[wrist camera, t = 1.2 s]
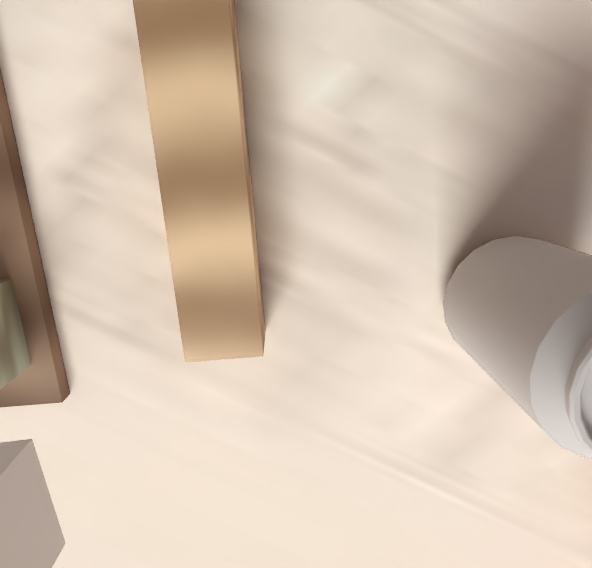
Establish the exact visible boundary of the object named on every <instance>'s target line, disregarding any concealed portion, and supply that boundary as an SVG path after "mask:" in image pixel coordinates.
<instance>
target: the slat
mask: <svg viewBox="0 0 592 568" xmlns="http://www.w3.org/2000/svg"><path fill="white" fill-rule="evenodd" d="M133 5H134V12H135V19H136V26H137V33H138V40H139V47H140V53H141V60H142V67H143V74H144V81H145V88H146V95H147V102H148V109H149V116H150V123H151V130H152V137H153V144H154V151H155V158H156V165H157V171H158V178H159V185H160V192H161V199H162V206H163V213H164V220H165V227H166V234H167V241H168V248H169V255H170V262H171V269H172V276H173V282H174V289H175V296H176V303H177V310H178V317H179V324H180V331H181V338H182V345H183V352H184V359H185V362H197V361H209V360H222V359H234V358H247V357H259V356H263V353H264V341H265V321H264V311H263V300H262V290H261V279H260V268H259V258H258V247H257V237H256V226H255V215H254V205H253V194H252V184H251V173H250V162H249V152H248V141H247V131H246V120H245V109H244V99H243V88H242V78H241V67H240V56H239V46H238V35H237V25H236V14H235V3H234V0H133Z"/></svg>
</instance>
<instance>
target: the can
mask: <svg viewBox="0 0 592 568" xmlns="http://www.w3.org/2000/svg"><path fill="white" fill-rule="evenodd" d="M443 305H444V316H445V323H446V325H447V327H448V329H449V331H450V333H451V336H452V338H453V339H454V340H455V341H456V342H457V343H458V344H459V345H460V346H461V347H462V348H463V349H464V350H465V351H466V352H467V353H468V354H469V355H470V356H471V357H472V358H473V359H474V361H475V362H476V363H477V364H478V365H479V366H480V367H481V368H482V369H483V370H484V371H485V372H486V373H487V374H488V375H489V376H490V377H491V378H492V379H493V380H494V381H495V382H496V383H497V384H498V385H499V386H500V387H501V388H502V389H503V390H504V391H505V392H506V393H507V394H508V395H509V396H510V397H511V398H512V399H513V400H514V401H515V402H516V403H517V404H518V405H519V406H520V407H521V408H522V409H523V410H524V411H525V412H526V413H527V414H528V415H529V416H530V417H531V418H532V419H533V420H534V421H535V422H536V423H537V424H538V425H539V426H540V427H541V428H542V429H543V430H544V431H545V432H546V433H547V434H548V435H549V436H550V437H551V438H552V439H553V440H554V441H555V442H556V443H557V444H558V445H559V446H560V447H562V448H564V449H566V450H569V451H571V452H573V453H575V454H577V455H580V456H582V457H584V458H592V255H589V254H586V253H583V252H579V251H576V250H572V249H569V248H566V247H562V246H559V245H556V244H552V243H549V242H545V241H542V240H539V239H535V238H528V237H521V236H511V237H505V238H499V239H494V240H492V241H490V242H488V243H486V244H484V245H482V246H480V247H478V248H476V249H474V250H473V251H472V252H471V253H470V254H469V255H468V256H467V257H466V258H465V259H464V260H463V261H462V262H461V263H460V264H459V265H458V266H457V268H456V270H455V271H454V273H453V275H452V277H451V278H450V280H449V282H448V284H447V289H446V293H445V297H444V302H443Z"/></svg>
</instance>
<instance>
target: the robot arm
mask: <svg viewBox="0 0 592 568" xmlns="http://www.w3.org/2000/svg"><path fill="white" fill-rule="evenodd" d="M64 545H65V540H64V537H63V534H62V531H61V528H60V525H59V522H58V519H57V516H56V512H55V509H54V506H53V503H52V500H51V497H50V494H49V491H48V488H47V484H46V481H45V478H44V475H43V472H42V469H41V466H40V463H39V460H38V457H37V453H36V450H35V447H34V444H33V441H32V439H28V440H19V441H11V442H3V443H0V568H52V566H53V564H54V563H55V561H56V559H57V557H58V555H59V554H60V552H61V550H62V548H63V546H64Z"/></svg>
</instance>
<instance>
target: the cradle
mask: <svg viewBox="0 0 592 568" xmlns="http://www.w3.org/2000/svg"><path fill="white" fill-rule="evenodd" d="M69 394H70V392H69V388H68V383H67V378H66V374H65V369H64V364H63V360H62V355H61V350H60V346H59V341H58V337H57V332H56V327H55V323H54V318H53V313H52V309H51V304H50V299H49V295H48V290H47V285H46V281H45V276H44V271H43V267H42V262H41V257H40V253H39V248H38V243H37V239H36V234H35V229H34V225H33V220H32V215H31V211H30V206H29V202H28V197H27V192H26V188H25V183H24V178H23V174H22V169H21V164H20V160H19V155H18V150H17V146H16V141H15V136H14V132H13V127H12V122H11V118H10V113H9V108H8V104H7V99H6V94H5V90H4V85H3V80H2V76H1V71H0V407H10V406H22V405H35V404H47V403H60V402H63V401H64V400H65V399H66V398H67V397H68V395H69Z"/></svg>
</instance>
